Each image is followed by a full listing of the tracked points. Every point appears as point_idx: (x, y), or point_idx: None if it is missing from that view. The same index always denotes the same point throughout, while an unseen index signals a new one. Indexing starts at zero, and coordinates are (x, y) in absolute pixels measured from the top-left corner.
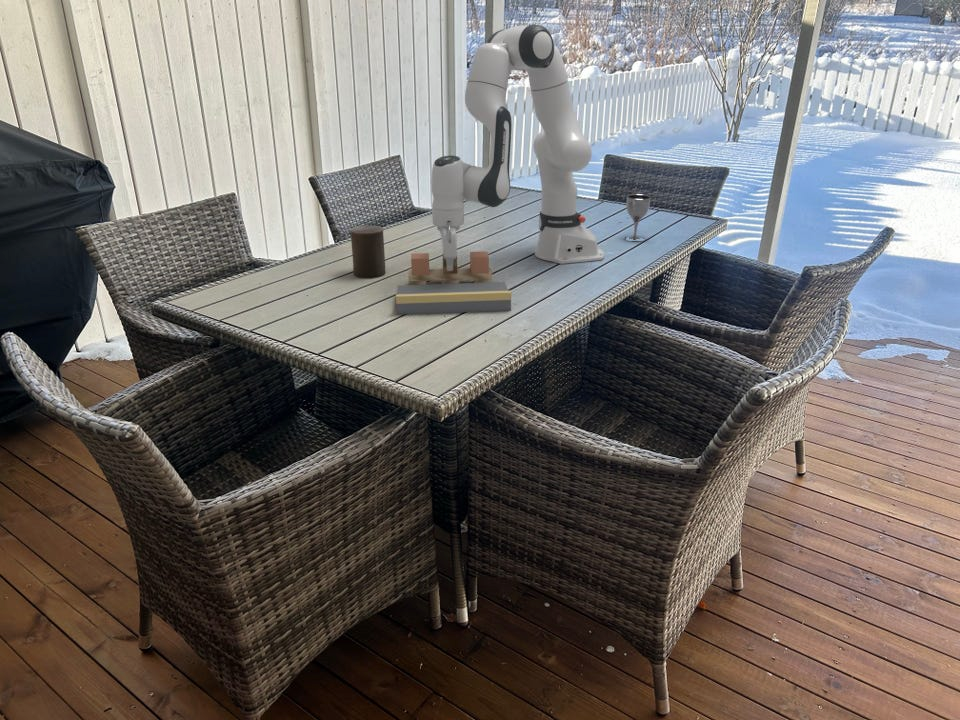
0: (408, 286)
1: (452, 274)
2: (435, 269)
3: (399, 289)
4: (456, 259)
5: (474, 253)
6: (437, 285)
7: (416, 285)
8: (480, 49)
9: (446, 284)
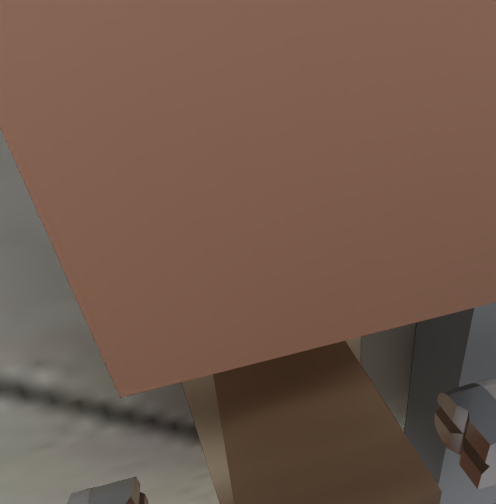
0: (456, 486)
1: (352, 346)
2: (219, 478)
3: (488, 499)
4: (413, 453)
5: (265, 271)
6: (484, 375)
7: (451, 463)
8: None
9: (482, 331)
